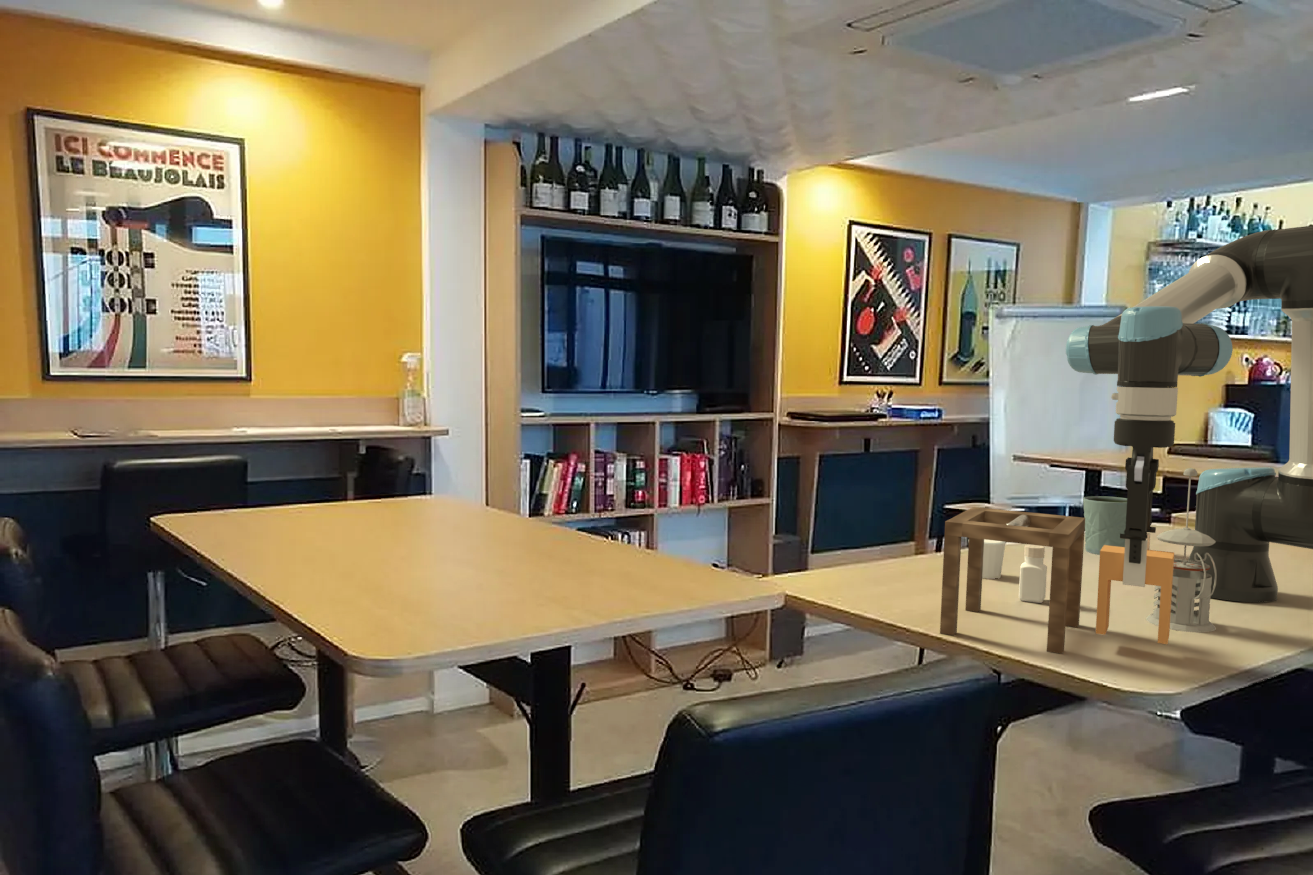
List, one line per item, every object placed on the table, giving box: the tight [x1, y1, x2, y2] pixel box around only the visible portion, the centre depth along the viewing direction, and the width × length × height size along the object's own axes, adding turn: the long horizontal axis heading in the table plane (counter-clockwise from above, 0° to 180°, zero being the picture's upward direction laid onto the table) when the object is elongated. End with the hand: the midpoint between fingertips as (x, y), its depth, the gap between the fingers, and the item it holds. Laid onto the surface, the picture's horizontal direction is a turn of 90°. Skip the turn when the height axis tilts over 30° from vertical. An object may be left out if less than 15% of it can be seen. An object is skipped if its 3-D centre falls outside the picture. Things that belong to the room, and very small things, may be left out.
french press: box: [1145, 467, 1217, 633], centre depth 144 cm, size 10×12×25 cm
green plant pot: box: [1082, 495, 1127, 556], centre depth 203 cm, size 10×10×12 cm
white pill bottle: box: [1018, 544, 1048, 604], centre depth 159 cm, size 4×4×10 cm
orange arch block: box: [1095, 545, 1175, 645], centre depth 130 cm, size 9×5×12 cm, turn 58°
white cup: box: [968, 539, 1007, 580], centre depth 177 cm, size 7×7×7 cm
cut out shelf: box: [939, 506, 1085, 655], centre depth 140 cm, size 17×18×17 cm
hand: (1135, 580), depth 130 cm, fingers closed on orange arch block, 5 cm apart
